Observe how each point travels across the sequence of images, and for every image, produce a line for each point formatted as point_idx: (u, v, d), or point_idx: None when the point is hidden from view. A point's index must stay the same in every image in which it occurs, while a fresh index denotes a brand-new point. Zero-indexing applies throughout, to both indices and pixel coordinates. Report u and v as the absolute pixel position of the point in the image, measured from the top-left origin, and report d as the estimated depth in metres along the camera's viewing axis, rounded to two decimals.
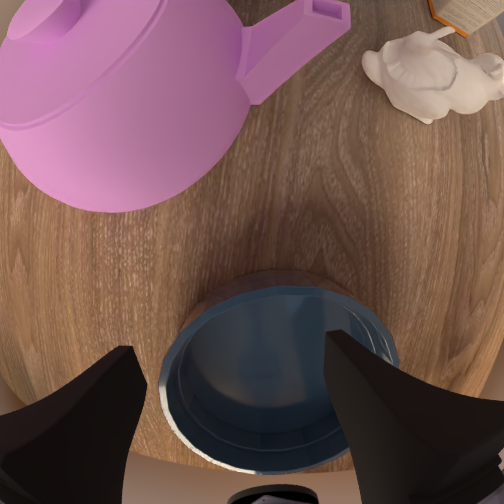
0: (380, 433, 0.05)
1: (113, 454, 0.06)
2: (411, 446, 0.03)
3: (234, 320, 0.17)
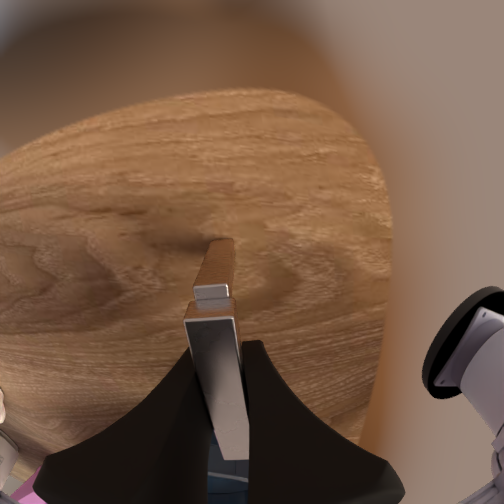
0: None
1: (201, 463, 0.06)
2: None
3: None
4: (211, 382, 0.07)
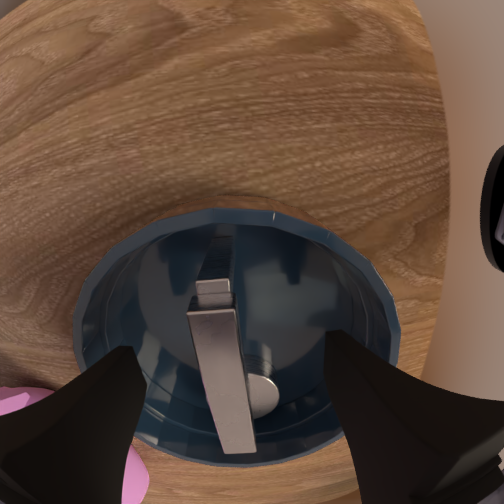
0: (380, 433, 0.05)
1: (113, 454, 0.06)
2: (411, 446, 0.03)
3: (187, 384, 0.15)
4: (212, 374, 0.08)
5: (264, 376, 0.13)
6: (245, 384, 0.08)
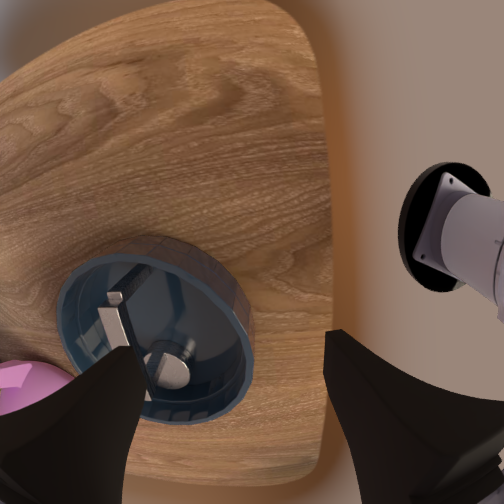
0: (380, 433, 0.05)
1: (113, 454, 0.06)
2: (411, 446, 0.03)
3: None
4: (114, 342, 0.14)
5: (176, 356, 0.19)
6: None
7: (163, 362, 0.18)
